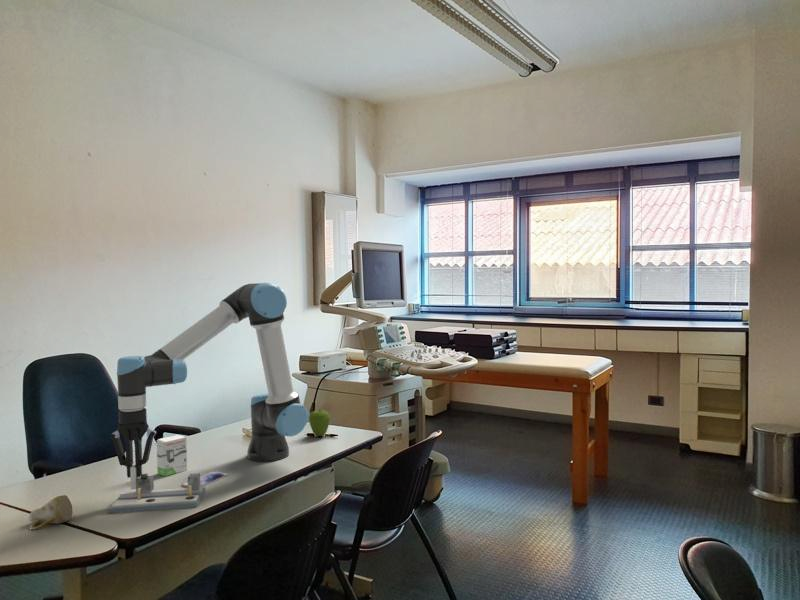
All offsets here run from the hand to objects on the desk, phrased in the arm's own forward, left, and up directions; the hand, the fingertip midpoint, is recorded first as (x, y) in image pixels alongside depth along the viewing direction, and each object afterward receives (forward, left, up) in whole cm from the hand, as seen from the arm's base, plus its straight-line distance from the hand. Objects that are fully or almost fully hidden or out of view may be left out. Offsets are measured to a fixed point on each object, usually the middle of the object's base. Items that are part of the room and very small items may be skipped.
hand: (135, 487), depth 171 cm
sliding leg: (-3, +2, -2) cm, 4 cm away
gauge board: (-7, +3, -4) cm, 9 cm away
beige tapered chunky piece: (+18, +14, -4) cm, 23 cm away
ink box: (-4, -25, -4) cm, 26 cm away
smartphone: (-17, -14, -4) cm, 23 cm away
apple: (-54, -62, -4) cm, 83 cm away
